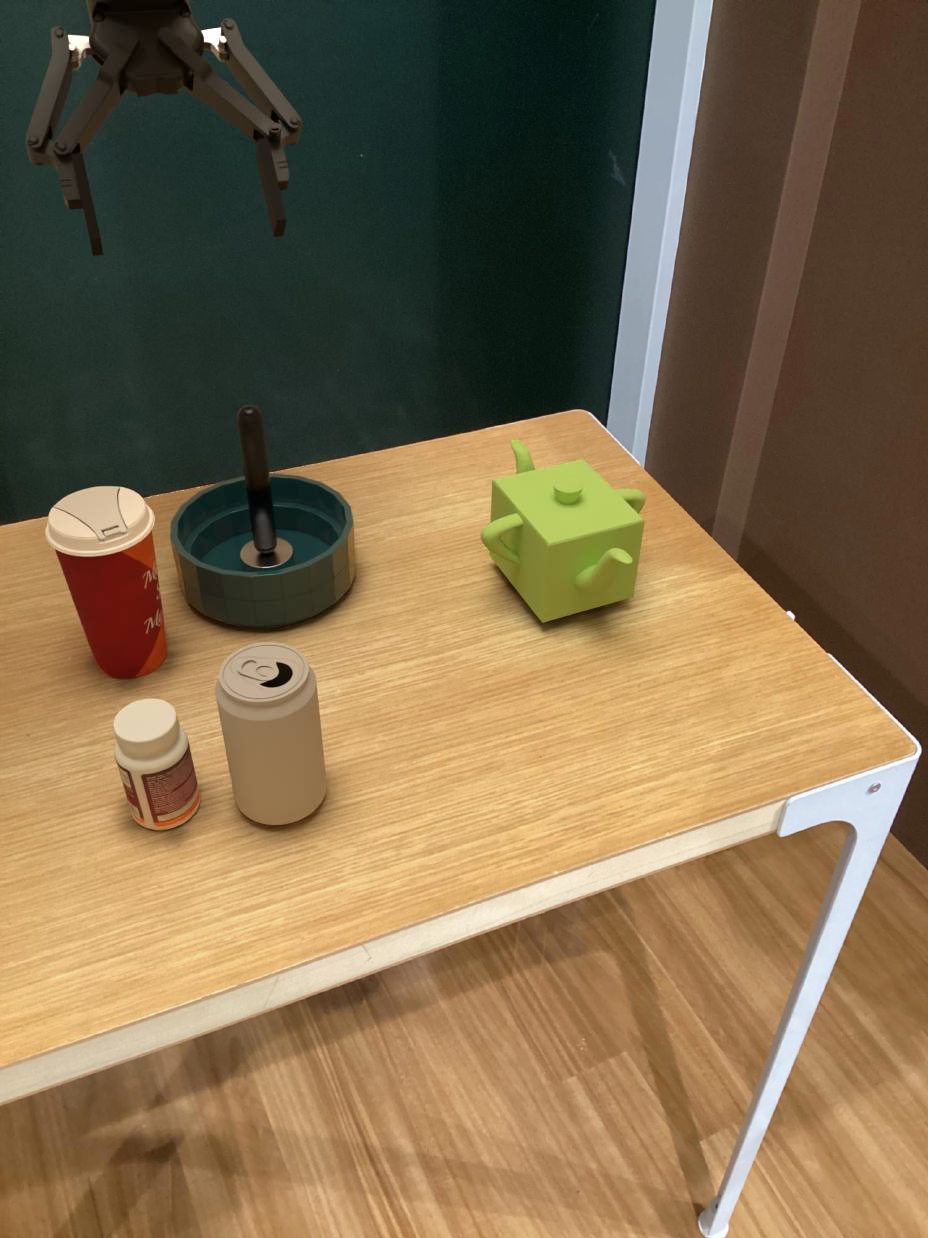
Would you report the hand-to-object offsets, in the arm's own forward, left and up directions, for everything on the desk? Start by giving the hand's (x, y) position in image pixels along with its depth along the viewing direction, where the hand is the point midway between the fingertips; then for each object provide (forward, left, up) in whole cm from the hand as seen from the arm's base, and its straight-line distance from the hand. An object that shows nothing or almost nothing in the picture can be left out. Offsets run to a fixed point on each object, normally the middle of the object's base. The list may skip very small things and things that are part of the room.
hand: (190, 238), depth 80 cm
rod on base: (+3, -5, -27) cm, 28 cm away
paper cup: (-8, -14, -28) cm, 33 cm away
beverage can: (+3, -31, -28) cm, 42 cm away
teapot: (+28, -11, -28) cm, 41 cm away
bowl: (+3, -6, -28) cm, 29 cm away
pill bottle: (-5, -31, -28) cm, 42 cm away
